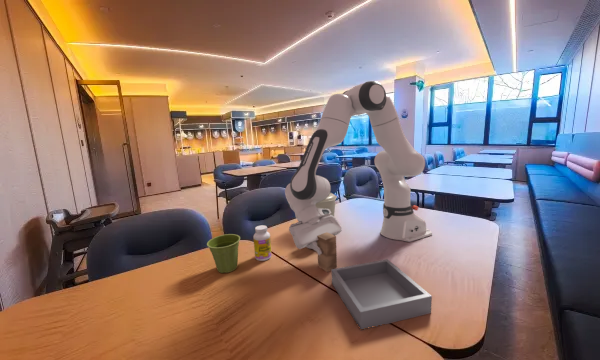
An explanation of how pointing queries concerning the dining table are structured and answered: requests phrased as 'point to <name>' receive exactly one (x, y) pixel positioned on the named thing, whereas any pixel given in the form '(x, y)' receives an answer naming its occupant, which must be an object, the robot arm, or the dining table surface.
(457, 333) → the dining table surface
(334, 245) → the walnut block
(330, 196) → the canister
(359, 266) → the bin
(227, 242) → the plant pot
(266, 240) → the supplement bottle
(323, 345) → the dining table surface
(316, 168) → the robot arm
